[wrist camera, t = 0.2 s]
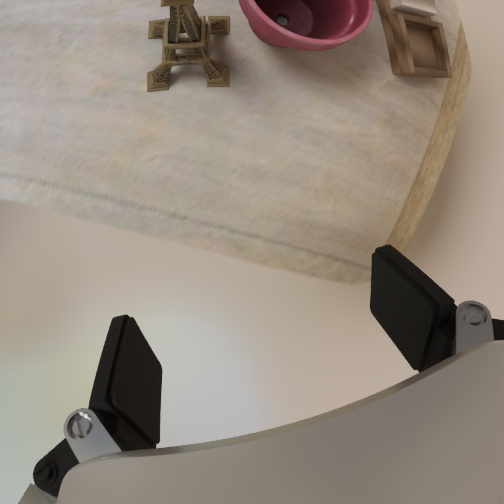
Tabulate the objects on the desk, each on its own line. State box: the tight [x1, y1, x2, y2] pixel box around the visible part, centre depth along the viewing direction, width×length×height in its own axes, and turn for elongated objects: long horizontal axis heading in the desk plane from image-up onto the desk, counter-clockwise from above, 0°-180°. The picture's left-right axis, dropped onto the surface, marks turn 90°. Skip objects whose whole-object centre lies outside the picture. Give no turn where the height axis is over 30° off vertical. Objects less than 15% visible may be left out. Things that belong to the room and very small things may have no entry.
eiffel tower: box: [147, 0, 229, 92], centre depth 19 cm, size 11×10×25 cm
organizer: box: [376, 0, 452, 78], centre depth 29 cm, size 18×10×5 cm, turn 10°
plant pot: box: [239, 0, 373, 51], centre depth 24 cm, size 14×14×13 cm
